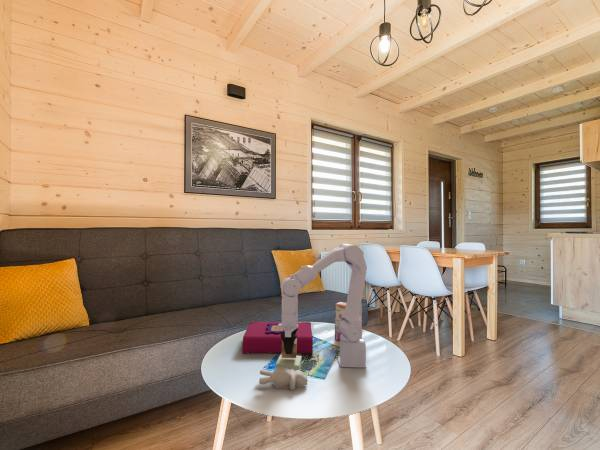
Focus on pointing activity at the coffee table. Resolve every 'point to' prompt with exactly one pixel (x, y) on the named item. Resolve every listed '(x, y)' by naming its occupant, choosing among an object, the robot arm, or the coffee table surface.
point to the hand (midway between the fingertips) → (289, 350)
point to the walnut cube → (292, 351)
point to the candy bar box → (339, 311)
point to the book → (275, 338)
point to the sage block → (290, 362)
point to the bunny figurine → (284, 378)
